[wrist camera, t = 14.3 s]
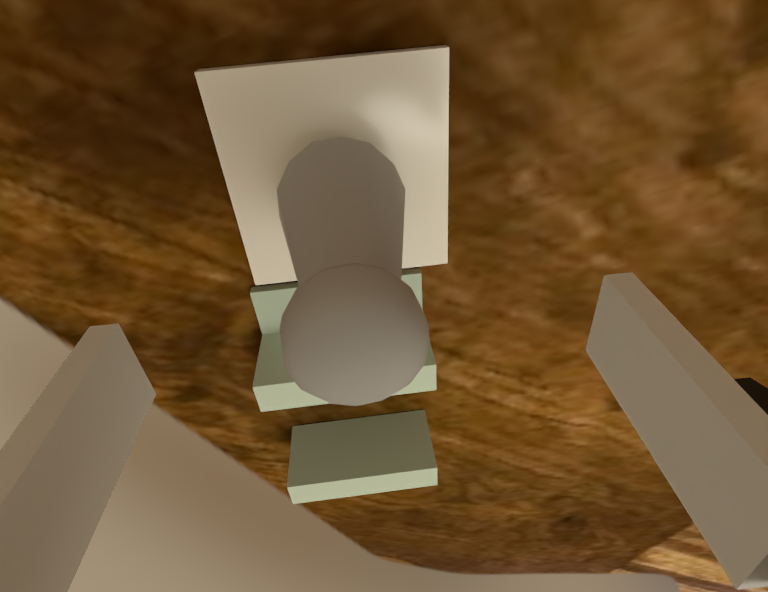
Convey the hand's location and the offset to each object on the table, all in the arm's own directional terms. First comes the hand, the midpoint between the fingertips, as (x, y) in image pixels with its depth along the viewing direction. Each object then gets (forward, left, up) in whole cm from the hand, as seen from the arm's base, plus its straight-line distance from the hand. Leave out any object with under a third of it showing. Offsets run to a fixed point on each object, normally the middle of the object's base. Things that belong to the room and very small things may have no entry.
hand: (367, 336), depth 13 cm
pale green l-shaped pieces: (+15, -2, -13) cm, 20 cm away
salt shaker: (0, -1, -12) cm, 12 cm away
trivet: (0, -1, -13) cm, 13 cm away
